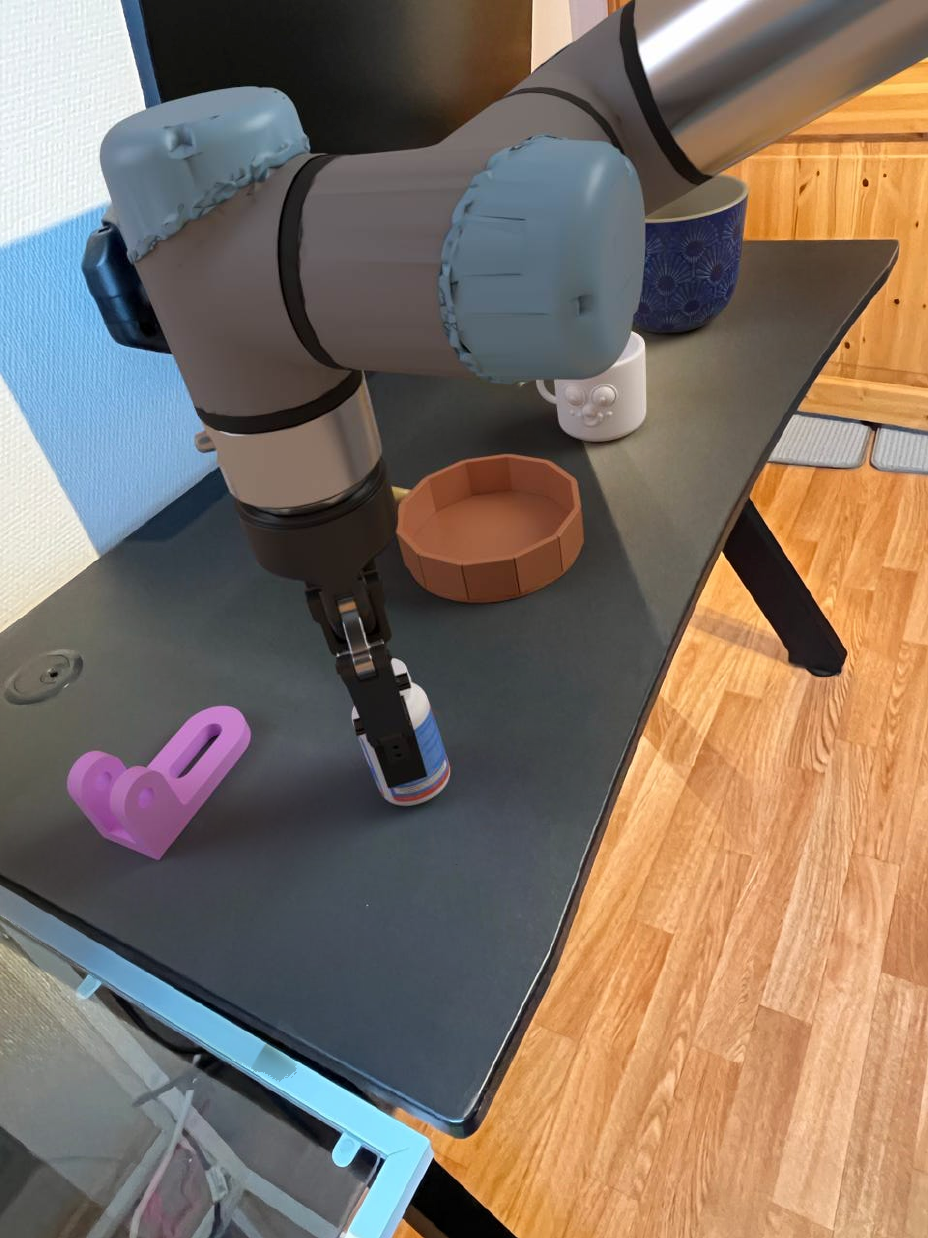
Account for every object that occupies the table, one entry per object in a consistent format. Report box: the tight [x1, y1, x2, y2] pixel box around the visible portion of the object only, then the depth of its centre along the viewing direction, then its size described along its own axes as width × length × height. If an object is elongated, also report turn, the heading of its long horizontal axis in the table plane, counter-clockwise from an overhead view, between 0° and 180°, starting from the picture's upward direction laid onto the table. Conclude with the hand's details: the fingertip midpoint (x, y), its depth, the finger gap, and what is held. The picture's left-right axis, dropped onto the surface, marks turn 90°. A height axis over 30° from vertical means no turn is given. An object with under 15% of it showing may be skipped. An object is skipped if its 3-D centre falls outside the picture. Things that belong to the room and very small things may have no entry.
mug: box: [535, 330, 647, 443], centre depth 91 cm, size 12×10×9 cm
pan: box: [391, 453, 585, 604], centre depth 82 cm, size 28×17×5 cm, turn 59°
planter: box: [632, 173, 750, 334], centre depth 105 cm, size 17×17×15 cm
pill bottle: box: [351, 657, 451, 807], centre depth 58 cm, size 6×5×10 cm
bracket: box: [66, 705, 252, 861], centre depth 63 cm, size 13×6×7 cm, turn 154°
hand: (405, 774), depth 56 cm, fingers closed
